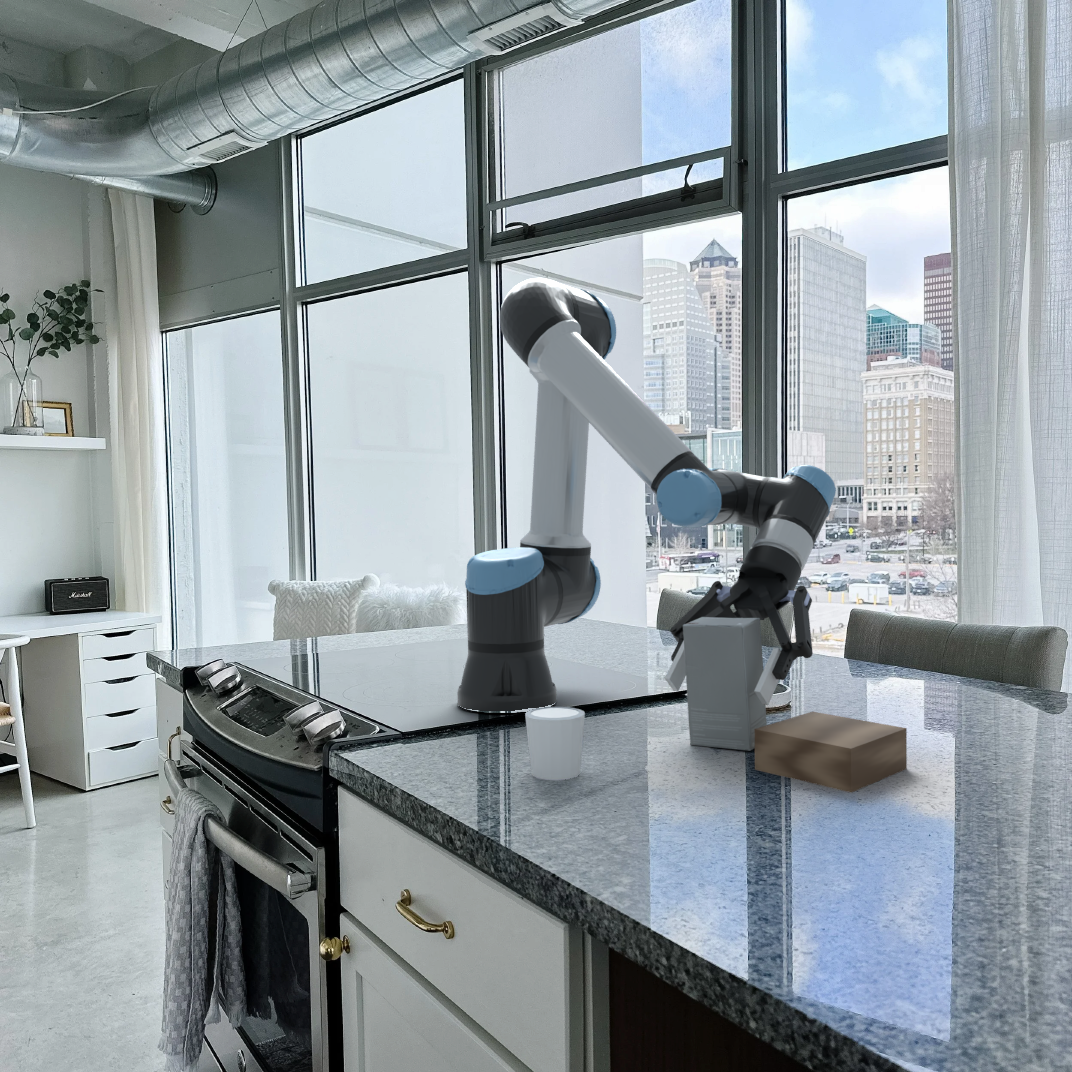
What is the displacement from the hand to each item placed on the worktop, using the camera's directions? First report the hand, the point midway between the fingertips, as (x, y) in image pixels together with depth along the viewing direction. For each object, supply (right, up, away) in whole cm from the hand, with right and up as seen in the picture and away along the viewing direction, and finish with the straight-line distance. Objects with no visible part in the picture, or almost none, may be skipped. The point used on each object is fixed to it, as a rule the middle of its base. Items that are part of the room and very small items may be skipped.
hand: (714, 691), depth 118 cm
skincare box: (+2, -7, +2) cm, 8 cm away
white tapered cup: (-20, -8, -9) cm, 23 cm away
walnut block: (+11, -8, -10) cm, 17 cm away
